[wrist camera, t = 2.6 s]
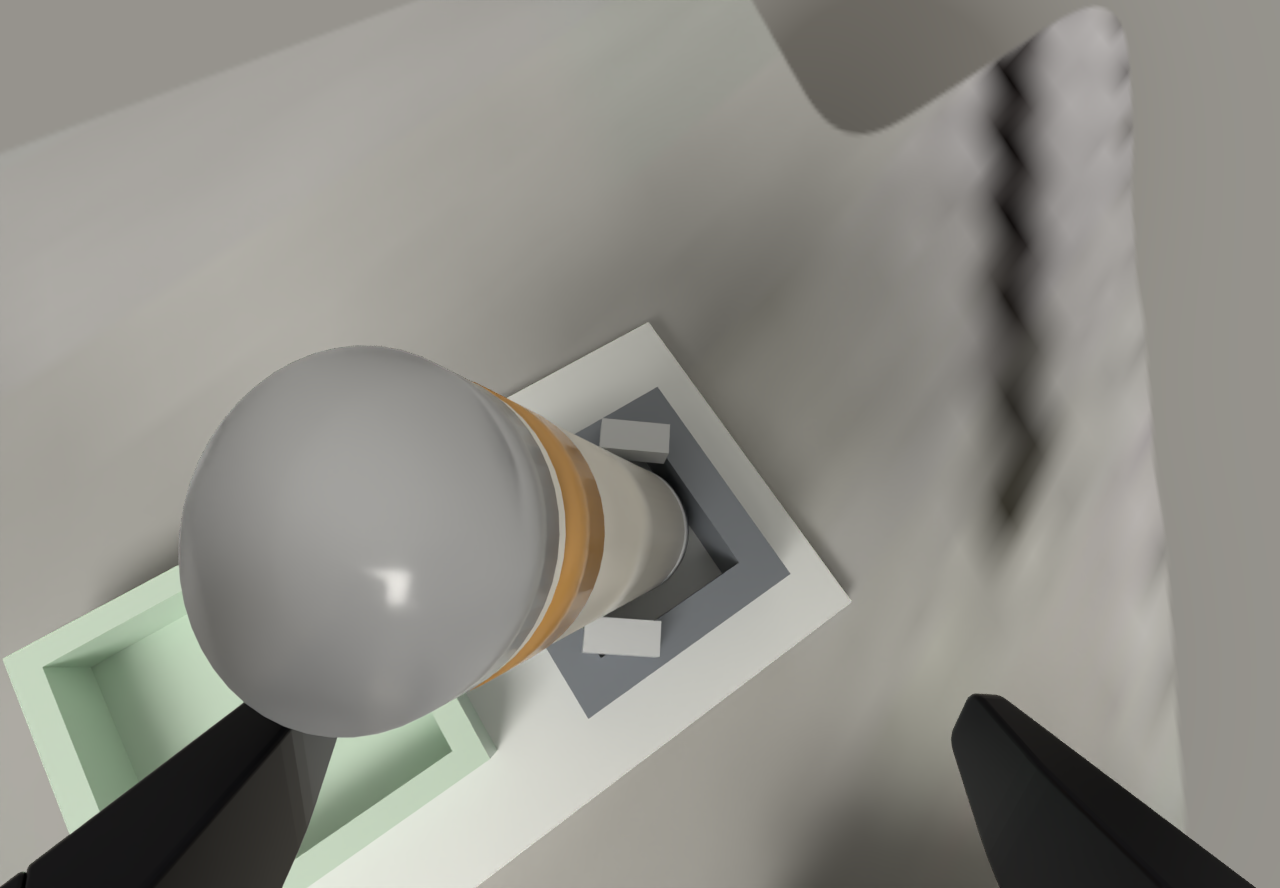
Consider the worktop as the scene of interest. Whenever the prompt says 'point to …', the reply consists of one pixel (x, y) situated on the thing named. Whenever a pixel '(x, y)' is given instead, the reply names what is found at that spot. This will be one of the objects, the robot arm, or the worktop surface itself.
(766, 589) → the block
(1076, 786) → the robot arm
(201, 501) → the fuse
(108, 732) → the tray
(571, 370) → the panel plate
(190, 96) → the worktop surface
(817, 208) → the worktop surface
